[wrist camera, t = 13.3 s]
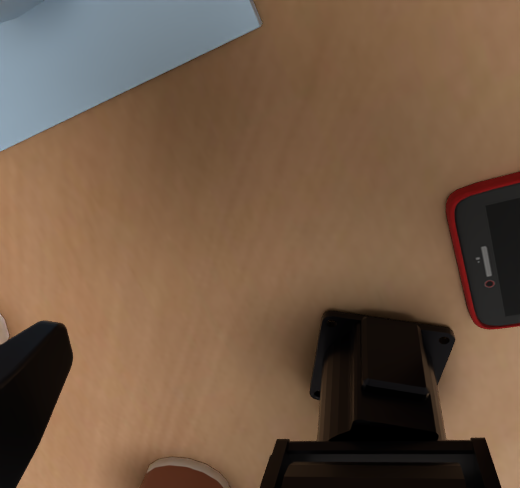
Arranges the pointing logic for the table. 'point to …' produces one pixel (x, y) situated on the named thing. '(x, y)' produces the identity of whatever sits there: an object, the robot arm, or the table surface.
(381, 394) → the robot arm
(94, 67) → the tub lid
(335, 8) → the table surface
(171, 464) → the coffee cup
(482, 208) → the cell phone
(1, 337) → the foam cup
